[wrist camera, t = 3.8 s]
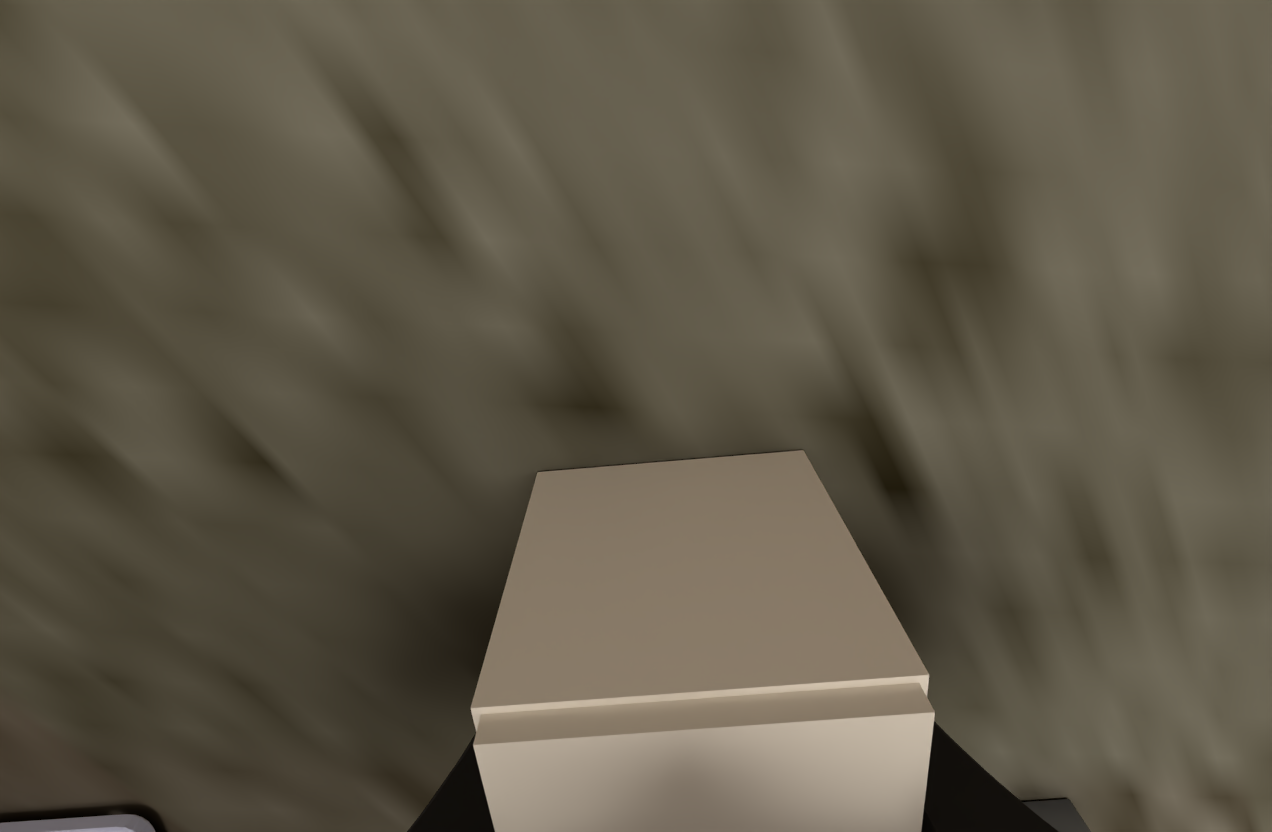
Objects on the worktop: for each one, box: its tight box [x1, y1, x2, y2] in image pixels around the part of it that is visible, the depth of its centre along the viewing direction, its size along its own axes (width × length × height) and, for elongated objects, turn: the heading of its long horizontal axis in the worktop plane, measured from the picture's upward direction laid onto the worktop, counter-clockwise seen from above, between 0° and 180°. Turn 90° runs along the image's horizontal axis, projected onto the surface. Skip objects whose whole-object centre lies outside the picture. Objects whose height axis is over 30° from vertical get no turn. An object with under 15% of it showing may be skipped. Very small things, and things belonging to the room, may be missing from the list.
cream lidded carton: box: [471, 450, 935, 832], centre depth 11 cm, size 5×8×6 cm, turn 5°
